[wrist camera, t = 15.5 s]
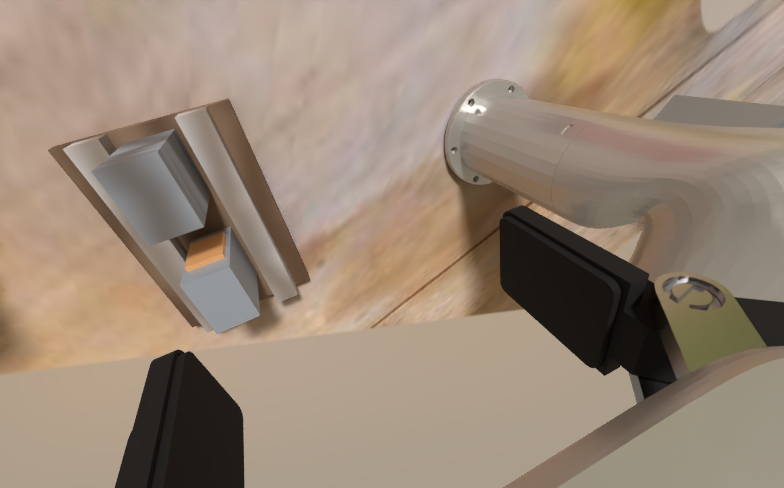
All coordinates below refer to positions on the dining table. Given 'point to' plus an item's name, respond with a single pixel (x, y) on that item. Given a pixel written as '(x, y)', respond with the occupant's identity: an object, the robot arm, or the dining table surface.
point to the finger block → (221, 280)
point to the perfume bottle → (721, 113)
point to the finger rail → (214, 201)
